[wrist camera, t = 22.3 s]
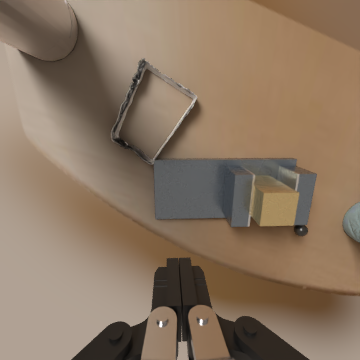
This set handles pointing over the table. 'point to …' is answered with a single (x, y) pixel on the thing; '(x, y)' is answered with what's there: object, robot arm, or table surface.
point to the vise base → (222, 186)
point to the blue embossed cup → (353, 222)
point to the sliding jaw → (238, 196)
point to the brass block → (273, 202)
